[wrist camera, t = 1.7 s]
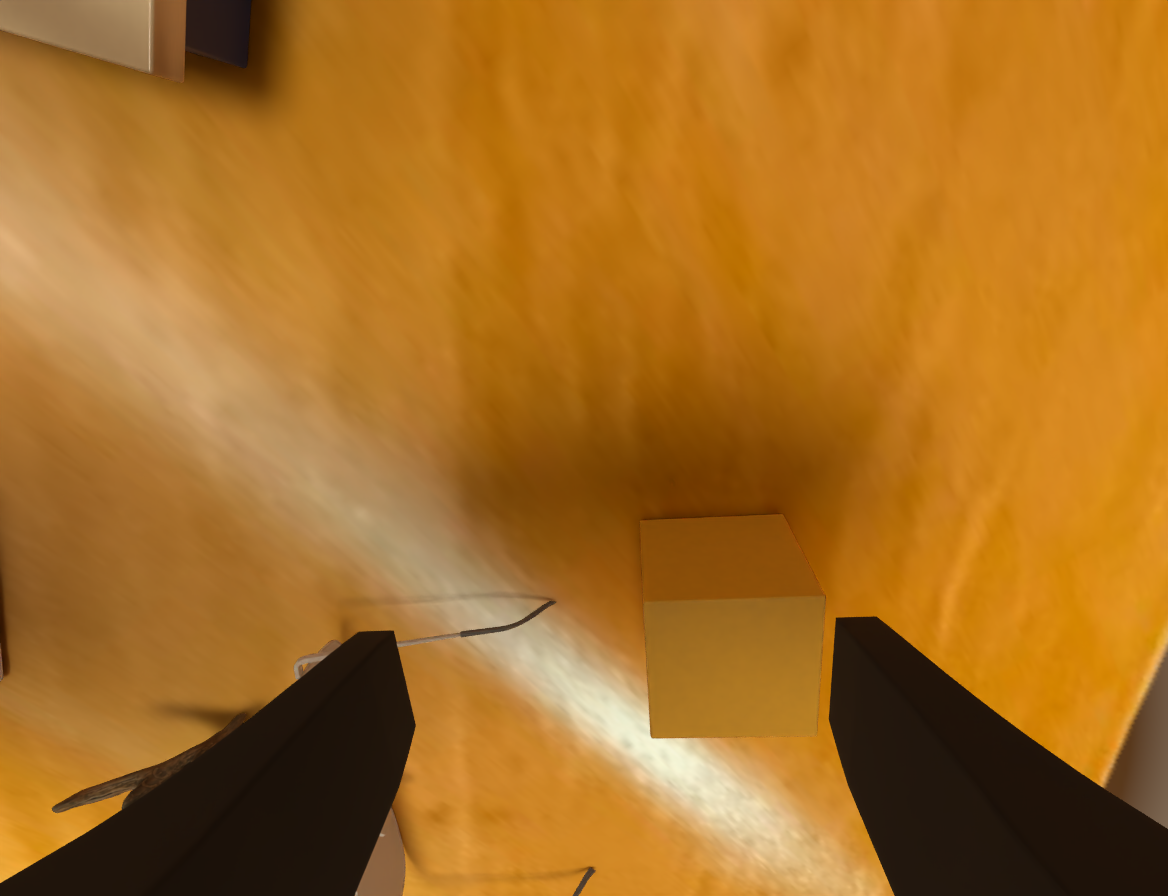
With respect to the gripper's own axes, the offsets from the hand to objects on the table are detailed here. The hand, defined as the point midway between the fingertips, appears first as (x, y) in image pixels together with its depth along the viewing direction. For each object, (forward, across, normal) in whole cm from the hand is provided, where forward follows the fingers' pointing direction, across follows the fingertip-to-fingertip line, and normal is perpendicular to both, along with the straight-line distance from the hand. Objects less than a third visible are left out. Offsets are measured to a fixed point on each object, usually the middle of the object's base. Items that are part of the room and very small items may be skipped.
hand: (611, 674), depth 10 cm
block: (+10, -3, +4) cm, 11 cm away
